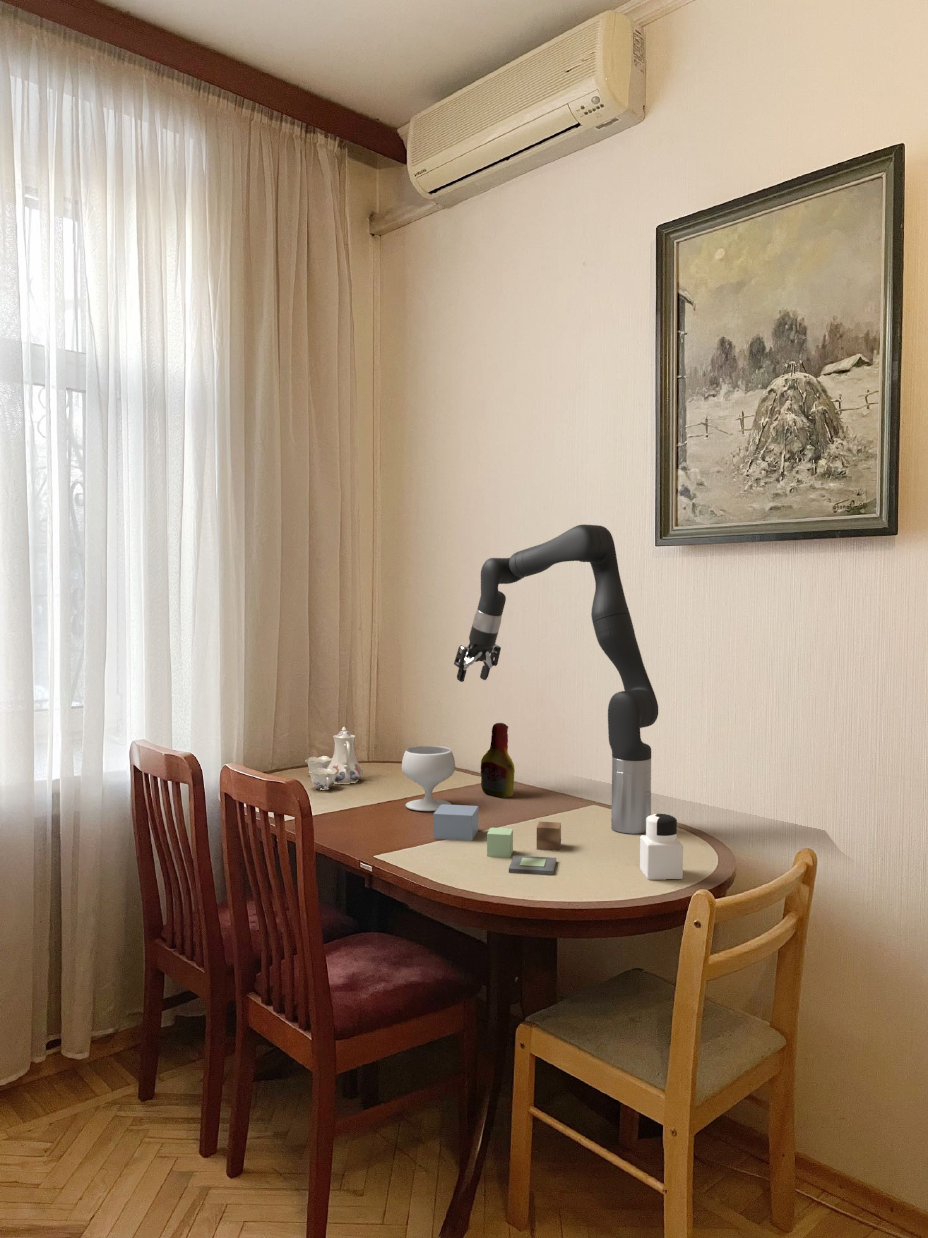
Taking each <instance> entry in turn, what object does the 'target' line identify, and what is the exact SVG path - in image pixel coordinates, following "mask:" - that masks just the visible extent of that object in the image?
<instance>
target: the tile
mask: <svg viewBox="0 0 928 1238" xmlns="http://www.w3.org/2000/svg"><path fill="white" fill-rule="evenodd" d="M556 864H557V857H550V856H547V857H546V856H532V855H530V856H529V855H515V854H514V855H513V858H512V859H511V862H510V865H509V867H508V873H511V874H512V873H517V874H531V875H532V874H534V875H545V876H546V875H548V876H550V875H551V876H554V872H555V868H556Z"/></svg>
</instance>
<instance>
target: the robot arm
mask: <svg viewBox="0 0 928 1238" xmlns="http://www.w3.org/2000/svg"><path fill="white" fill-rule="evenodd" d="M616 551H617V550H616V545H615V541H614V537H613V535H612V533H611V531H610V530H608V528H607V527H606V526H602V525H597V524H577V525H576V526H573V527H571V528H569V529H567V530H566V531H564V532H563V533H561V534H560V535H558V536H556V537H554V538H552V539H550V540H548V541H546V542H543V543H541V544H537V545H535V546H530V547H528V548H525V549H522V550H519V551H517V552H515V553H513V554H512V555H511V556H510V557H491V558H490V557H489V558H488V559H486V560H485V561H484V563H483V565H482V567H481V568H480V569H481V570H480V597H479V601H478V603H477V604H478V605H477V608H476V612H475V614H474V617H473V619H472V623H471V628H470V632H469V636H468V641H469V644H468V645H467V646H463V645H462V644H461V645H459V646H458V649H457V651H456V656H455V659H454V662H453V665H454V666H455V667H457V668H458V670H457V673H456V674H457V675H456V680H458V682H461V683H463V682H465V678H466V674H467V669H468V668H469V667H471V666H472V665H473V664H475V663H477V662H482V663H483V665H482V668H481V671H480V675H479V678H480V680H483V681H487V679H488V678H489V675H490V671H491V668H493V667H496V666H498V664H499V659H500V654H501V648H502V647H501V646H499V645H498V644H496V642H497V638H498V636H499V630H500V628H501V624H502V616H503V614H504V613H503V612H504V608H505V605H506V603H507V602H506V600H507V599H506V598H507V597H506V595H505V594H504V593H503V592H502V591H500V590H499V585H500V584H501V585H508V584H513V583H517V582H518V581H521V580H522V579H525V578H526V577H529V576H530V577H531V576H533V575H536V574H539V573H542V572H544V571H546V570H548V569H549V568H551V567H552V566H554V565H557V564H560V563H565V562H581V563H590V564H589V565H590V566H591V569H592V573H593V577H594V582H595V591H594V594H593V600H592V606H591V613H590V615H591V621H592V625H593V629H594V633H595V637H596V641H597V642H598V643H597V644H598V645H599V646H600V648H601V650H602V651H603V653H604V654H605V655H606V656H607V658H608V659H609V660H610V661H611V663H612V664H613V667H615V668H616V670H617V672H618V674H619V677H620V679H621V682H622V685H623V690H622V691H618V692H616V693H614V694H613V695H612V696H611V698H610V700H609V702H608V706H607V707H608V708H607V725H608V726H607V730H608V731H607V732H608V733H607V735H608V743H609V746H610V749H611V806H610V808H611V816H610V817H611V818H610V823H611V824H610V827H611V829H612V830H614V831H615V832H618V833H621V834H622V833H624V834H633V835H634V834H635V835H636V834H637V835H638V834H646V818H647V817H648V816H650V815H652V747H651V746H650V745H649V744H647V743H645V742H643V740H642V739H641V729H642V728H647V727H650V726H653V725H654V724H655V722H657V719H658V717H659V704H658V700H657V696H656V694H655V691H654V688H653V685H652V683H651V680H650V678H649V675H648V673H647V670H646V667H645V664H644V661H643V658H642V653H641V651H640V648H639V647H640V646H639V644H638V641H637V637H636V633H635V629H634V623H633V620H632V617H631V614H630V611H629V607H628V604H627V600H626V596H625V591H624V588H623V587H624V586H623V584H622V579H621V576H620V570H619V564H618V558H617V557H618V556H617V552H616Z"/></svg>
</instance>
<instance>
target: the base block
mask: <svg viewBox="0 0 928 1238" xmlns="http://www.w3.org/2000/svg"><path fill="white" fill-rule="evenodd" d="M432 816H433V817H432V819H433V821H432V823H433V828H432V829H433V830H432V832H433V833H432V834H433V837H432V838H433V840H448V841H469V842H472V841H473V840H474V838H475V837H476V835H477V833H478V832H479V805H465V804H464V805H463V804H462V805H461V804H452V805H445V804H441V805H440V806H439V808H438V809H437V810H436V811H433V815H432Z"/></svg>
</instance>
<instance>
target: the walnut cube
mask: <svg viewBox="0 0 928 1238" xmlns="http://www.w3.org/2000/svg"><path fill="white" fill-rule="evenodd" d="M561 845H562V822H557V821H554V822H553V821H538V823H537V825H536V850H537V851H538V850H542V851H555V852H556V851H557V852H559V851H560V849H561Z"/></svg>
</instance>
